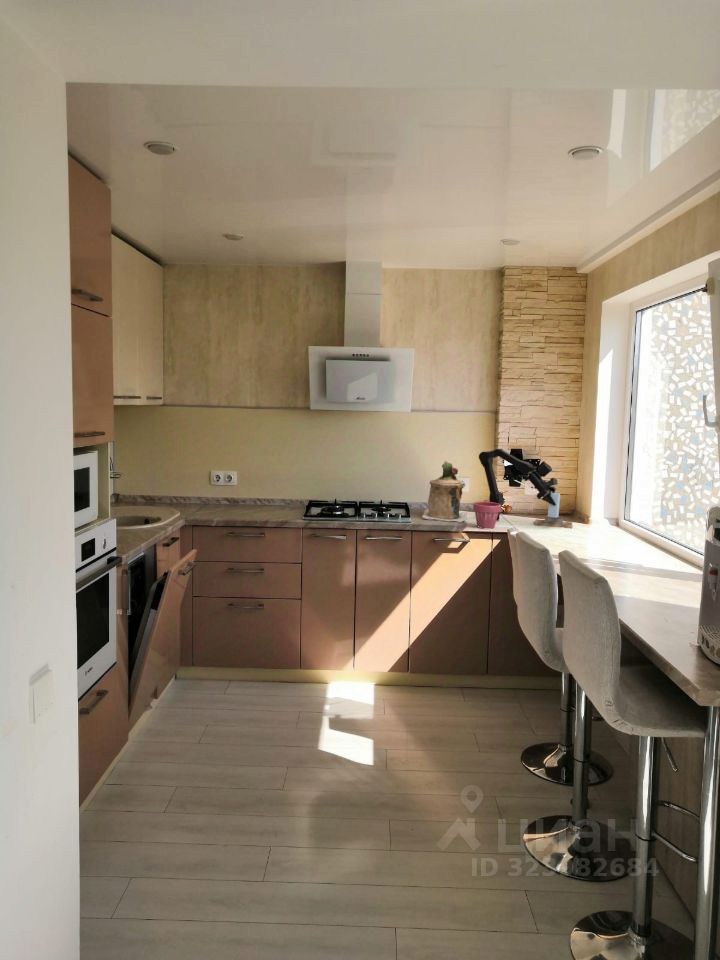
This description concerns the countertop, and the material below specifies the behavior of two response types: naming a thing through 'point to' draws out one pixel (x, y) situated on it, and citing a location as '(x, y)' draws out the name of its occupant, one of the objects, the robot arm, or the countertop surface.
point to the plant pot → (486, 513)
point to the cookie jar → (445, 497)
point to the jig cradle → (553, 522)
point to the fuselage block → (554, 510)
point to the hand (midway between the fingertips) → (556, 504)
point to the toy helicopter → (507, 508)
